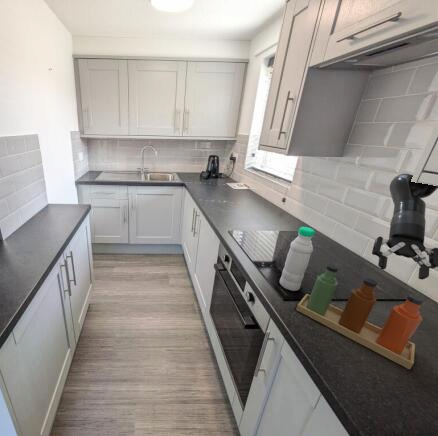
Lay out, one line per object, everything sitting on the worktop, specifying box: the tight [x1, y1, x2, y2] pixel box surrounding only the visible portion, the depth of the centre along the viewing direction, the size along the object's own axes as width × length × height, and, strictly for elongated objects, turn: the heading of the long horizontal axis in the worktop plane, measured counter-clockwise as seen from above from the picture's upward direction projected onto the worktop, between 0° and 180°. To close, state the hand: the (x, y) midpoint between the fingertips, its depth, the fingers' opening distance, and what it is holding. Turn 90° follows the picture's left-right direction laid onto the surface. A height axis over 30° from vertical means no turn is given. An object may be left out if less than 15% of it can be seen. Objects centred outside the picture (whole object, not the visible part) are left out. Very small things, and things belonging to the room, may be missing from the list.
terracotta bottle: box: [375, 293, 425, 355], centre depth 63 cm, size 5×5×18 cm
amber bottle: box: [338, 277, 378, 334], centre depth 69 cm, size 5×5×18 cm
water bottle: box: [279, 226, 315, 292], centre depth 87 cm, size 7×7×25 cm
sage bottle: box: [307, 263, 339, 316], centre depth 75 cm, size 5×5×18 cm
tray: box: [295, 293, 416, 370], centre depth 72 cm, size 27×9×2 cm, turn 41°
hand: (402, 273), depth 70 cm, fingers open, 8 cm apart
